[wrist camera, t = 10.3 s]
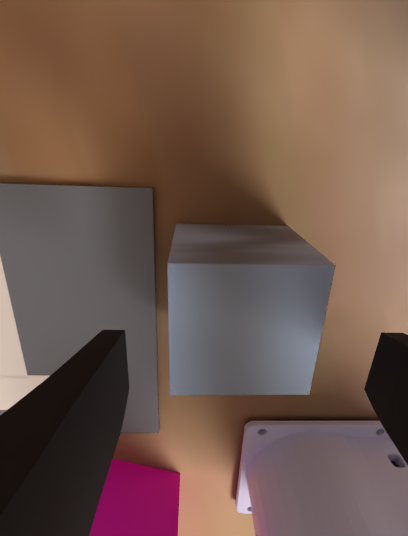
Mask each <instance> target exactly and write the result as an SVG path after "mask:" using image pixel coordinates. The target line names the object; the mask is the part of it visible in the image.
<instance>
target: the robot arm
mask: <svg viewBox="0 0 408 536" xmlns="http://www.w3.org/2000/svg"><path fill="white" fill-rule="evenodd" d="M365 391H366V394H367V396H368V398H369V400H370V402H371V404H372V406H373V409H374V411H375V412H376V414H377V416H378V418H379V420H380V421H250V422H248V423H247V424H246V425H245V427H244V434H243V443H242V451H241V460H240V469H239V477H238V486H237V495H236V503H235V504H236V510H237V511H238V512H239V513H252V516H253V522H254V528H255V535H256V536H408V335H406V334H404V333H381V336H380V339H379V342H378V346H377V349H376V352H375V355H374V359H373V362H372V365H371V369H370V372H369V375H368V379H367V382H366V385H365ZM128 394H129V375H128V362H127V348H126V334H125V330H102V331H101V332H99V333H98V334H97V335H96V336H95V337H94V338H93V339H91V340H90V341H89V342H88V343H87V344H86V345H85V346H84V347H82V348H81V349H80V350H79V351H78V352H77V353H76V354H75V355H73V356H72V357H71V358H70V359H69V360H68V361H67V362H66V363H64V364H63V365H62V366H61V367H60V368H59V369H57V370H56V371H55V372H54V373H53V374H52V375H50V376H49V377H48V378H47V379H46V380H45V381H43V382H42V383H41V384H40V385H38V386H37V387H36V388H34V389H33V390H32V391H31V392H29V393H28V394H27V395H26V396H24V397H23V398H22V399H21V400H19V401H18V402H17V403H16V404H14V405H13V406H12V407H10V408H9V409H8V410H7V411H5V412H4V413H3V414H1V415H0V536H89V535H90V531H91V528H92V524H93V520H94V517H95V514H96V511H97V507H98V504H99V501H100V498H101V494H102V491H103V488H104V485H105V481H106V478H107V475H108V472H109V468H110V465H111V462H112V459H113V455H114V452H115V449H116V445H117V442H118V439H119V435H120V432H121V429H122V425H123V420H124V415H125V410H126V405H127V399H128ZM260 429H262V430H260Z"/></svg>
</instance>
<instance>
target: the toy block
mask: <svg viewBox="0 0 408 536" xmlns="http://www.w3.org/2000/svg"><path fill="white" fill-rule="evenodd" d="M179 487H180V473H176V472H172V471H167V470H163V469H158V468H153V467H149V466H144V465H140V464H135V463H131V462H126V461H121V460H117V459H112V462H111V465H110V468H109V472H108V475H107V478H106V481H105V485H104V488H103V491H102V494H101V498H100V501H99V504H98V507H97V511H96V514H95V517H94V520H93V524H92V528H91V531H90V535H89V536H177V535H178V511H179Z"/></svg>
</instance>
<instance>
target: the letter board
mask: <svg viewBox="0 0 408 536" xmlns="http://www.w3.org/2000/svg"><path fill="white" fill-rule="evenodd" d="M102 330H125V334H126V348H127V362H128V375H129V394H128V399H127V405H126V410H125V415H124V420H123V425H122V429H121V432H120V433H159V399H158V362H157V324H156V287H155V250H154V213H153V188H142V187H110V186H79V185H48V184H17V183H0V415H1V414H3V413H4V412H5V411H7V410H8V409H9V408H10V407H12V406H13V405H14V404H16V403H17V402H18V401H19V400H21V399H22V398H23V397H24V396H26V395H27V394H28V393H29V392H31V391H32V390H33V389H34V388H36V387H37V386H38V385H40V384H41V383H42V382H43V381H45V380H46V379H47V378H48V377H49V376H50V375H52V374H53V373H54V372H55V371H56V370H57V369H59V368H60V367H61V366H62V365H63V364H64V363H66V362H67V361H68V360H69V359H70V358H71V357H72V356H73V355H75V354H76V353H77V352H78V351H79V350H80V349H81V348H82V347H84V346H85V345H86V344H87V343H88V342H89V341H90V340H91V339H93V338H94V337H95V336H96V335H97V334H98V333H99V332H101V331H102Z"/></svg>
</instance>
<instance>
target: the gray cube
mask: <svg viewBox="0 0 408 536" xmlns="http://www.w3.org/2000/svg"><path fill="white" fill-rule="evenodd" d="M334 270H335V265H334V264H333V263H332V262H331V261H329V260H328V259H327V258H326V257H325V256H323V255H322V254H321V253H320V252H319V251H317V250H316V249H315V248H314V247H313V246H311V245H310V244H309V243H308V242H306V241H305V240H304V239H303V238H302V237H300V236H299V235H298V234H297V233H296V232H294V231H293V230H292V229H291V228H290V227H288V226H276V225H222V224H176V226H175V231H174V235H173V240H172V244H171V249H170V254H169V258H168V263H167V272H168V322H169V373H170V395H309V393H310V388H311V384H312V379H313V374H314V369H315V364H316V359H317V354H318V349H319V344H320V339H321V334H322V329H323V324H324V319H325V314H326V309H327V304H328V300H329V295H330V290H331V285H332V280H333V275H334Z"/></svg>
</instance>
